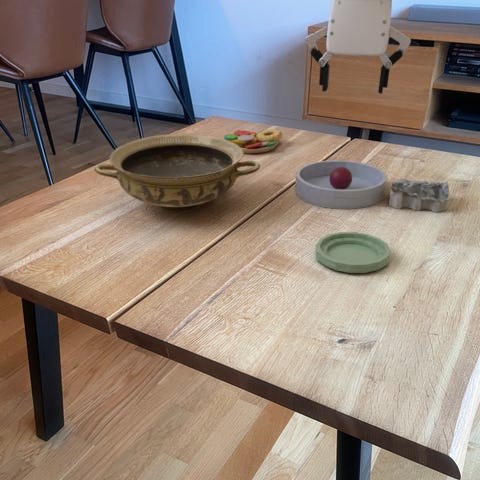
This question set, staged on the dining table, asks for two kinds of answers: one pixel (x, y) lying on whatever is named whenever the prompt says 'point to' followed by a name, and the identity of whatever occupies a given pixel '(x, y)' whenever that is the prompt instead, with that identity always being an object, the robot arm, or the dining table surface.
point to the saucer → (353, 252)
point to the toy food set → (255, 140)
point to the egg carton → (419, 195)
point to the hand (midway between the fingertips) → (352, 90)
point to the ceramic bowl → (177, 169)
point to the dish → (323, 194)
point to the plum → (340, 178)
